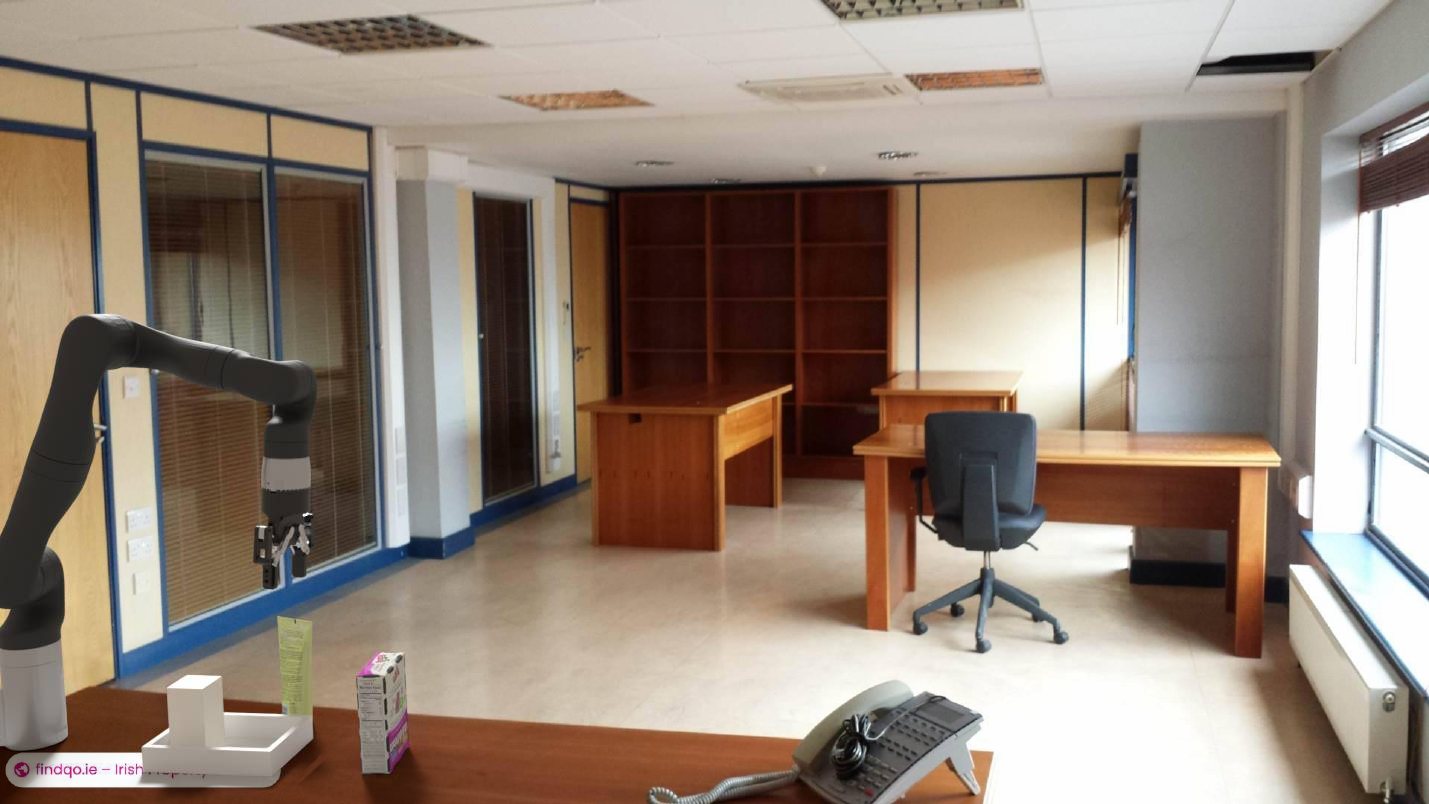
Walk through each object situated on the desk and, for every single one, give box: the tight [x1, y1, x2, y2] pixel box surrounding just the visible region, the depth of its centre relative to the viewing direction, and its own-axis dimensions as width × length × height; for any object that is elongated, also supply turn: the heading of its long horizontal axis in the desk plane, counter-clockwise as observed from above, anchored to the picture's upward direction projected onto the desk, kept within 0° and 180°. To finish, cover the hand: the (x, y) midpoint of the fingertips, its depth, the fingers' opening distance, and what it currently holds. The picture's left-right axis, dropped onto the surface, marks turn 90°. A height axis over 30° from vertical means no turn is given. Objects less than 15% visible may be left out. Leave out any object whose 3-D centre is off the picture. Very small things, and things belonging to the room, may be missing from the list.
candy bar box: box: [355, 651, 410, 775], centre depth 191 cm, size 11×5×16 cm, turn 179°
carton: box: [166, 674, 225, 747], centre depth 192 cm, size 6×6×12 cm
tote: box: [141, 711, 314, 777], centre depth 192 cm, size 21×15×5 cm
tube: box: [276, 615, 314, 723], centre depth 204 cm, size 6×5×20 cm
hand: (284, 582), depth 192 cm, fingers open, 8 cm apart
